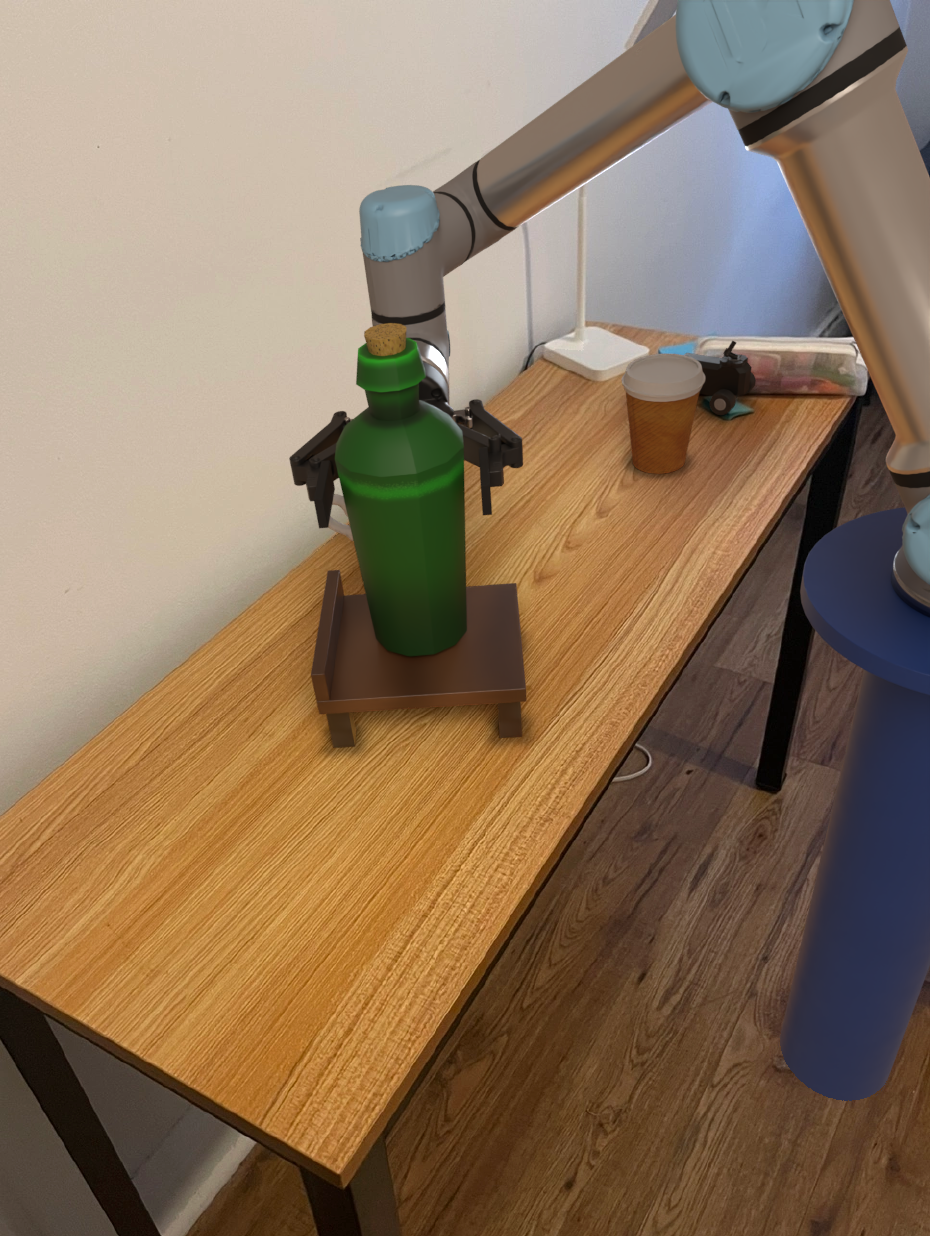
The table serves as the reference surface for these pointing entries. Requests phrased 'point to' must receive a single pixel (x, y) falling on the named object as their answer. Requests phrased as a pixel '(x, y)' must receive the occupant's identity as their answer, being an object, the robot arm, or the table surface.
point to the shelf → (417, 662)
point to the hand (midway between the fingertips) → (403, 507)
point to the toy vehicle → (725, 378)
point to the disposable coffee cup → (661, 409)
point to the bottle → (405, 500)
